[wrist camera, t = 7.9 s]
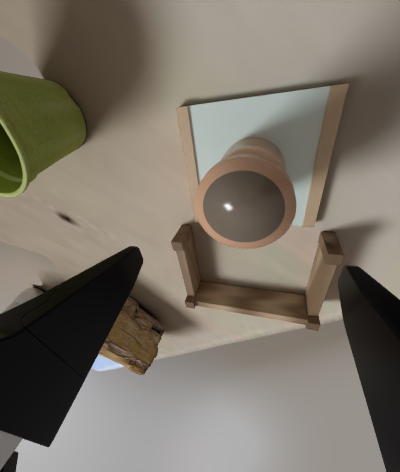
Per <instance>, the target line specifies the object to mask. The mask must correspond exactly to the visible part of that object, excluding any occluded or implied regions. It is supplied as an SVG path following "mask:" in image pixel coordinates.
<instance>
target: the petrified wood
mask: <svg viewBox="0 0 400 472" xmlns="http://www.w3.org/2000/svg"><path fill="white" fill-rule="evenodd" d="M163 333H164V330H163V329H162V327H161V325H160V324H159V322H158V321H157V320H156V319H155V318H153V317H152V316H150V315H149V314H147V313H146V312H145V311H143V310H142V309H141V308H139V306H138V303H137V302H136V301H135V300H134V299H132V298H131V297H128V298H127V300H126V302H125V304H124V306H123V308H122V310H121V312H120V314H119V316H118V318H117V319H116V321H115V323H114V325H113V327H112V329H111V331H110V333H109V335H108V337H107V338H106V340H105V342H104V344H103V346H102V348H101V350H100V352H99V354H101V355H103V356H105V357H107V358H109V359H111V360H113V361H114V362H117V363H119V364H122V365H123V366H125V367H127V368H128V369H129V370H131V371H132V372H135V373H137V374H139V375H141V374H145V372H146V370H147V369H148V367H150V365H151V363H152V362H153V360H154V358H155V357H156V356H157V353H158V347H157V346H158V343H159V342H160V340H161V336H162V335H163Z"/></svg>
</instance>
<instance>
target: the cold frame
mask: <svg viewBox="0 0 400 472" xmlns="http://www.w3.org/2000/svg"><path fill="white" fill-rule="evenodd" d="M192 234H193V233H192V227H191V225H182V226H181V227H180V229H179V230H178V232H177V233H176V235H175V237H174V238H173V240H172V241H171V243H172V247H173V250H175V251H176V252H177V256H178V260H179V263H180V267H181V271H182V275H183V279H184V283H185V287H186V291H187V294H188V295H187V297H186V300H185V304H186V307H189V308H195V306H202V307H207V308H213V309H219V310H224V311H230V312H236V313H242V314H247V315H253V316H259V317H264V318H270V319H276V320H282V321H287V322H293V323H299V324H304V325H306V329H311V330H316V331H318V330H319V327H320V321H319V316H318V315H319V312H320V309H321V307H322V304H323V301H324V299H325V296H326V293H327V291H328V288H329V285H330V282H331V280H332V277H333V274H334V272H335V269H336V266H337V265H339V266H340V265H341V263H342V260H343V257H344V254H343V251H342V249H341V246H340V244H339V241H338V239H337V237H336V234H335V232H321V234H320V237H319V241H318V242H319V245H318V249H317V252H316V256H315V260H314V263H313V267H312V271H311V274H310V278H309V282H308V285H307V289H306V292H305V294H304V295H298V294H291V293H283V292H276V291H269V290H261V289H254V288H246V287H239V286H232V285H224V284H217V283H210V282H202V281H201V280H200V274H199V269H198V264H197V258H196V253H195V248H194V242H193V237H192Z"/></svg>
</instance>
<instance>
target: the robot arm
mask: <svg viewBox="0 0 400 472" xmlns="http://www.w3.org/2000/svg"><path fill="white" fill-rule="evenodd" d="M142 264H143V257H142V255H141V252H140V250H139V248H138V247H135V246H130V247H128V248H126V249H124V250H122V251H120V252H118V253H117V254H115V255H113V256H111V257H109V258H107V259H105V260H104V261H102V262H100V263H98V264H96V265H94V266H93V267H91V268H89V269H87V270H85V271H83V272H81V273H80V274H78V275H76V276H74V277H72V278H70V279H68V280H67V281H65V282H63V283H61V284H60V285H57V286H55V287H54V288H52V289H50V290H48V291H46V292H44V293H42V294H40V295H39V296H37V297H35V298H32V299H30V300H28V301H26V302H24V303H22V304H20V305H18V306H16V307H14V308H12V309H10V310H8V311H6V312H4V313H1V314H0V472H16V465H17V459H18V452H16V451H14V450H15V449H16V447H17V446H18V445H19V443H20V442H21V440H22V439H26V440H29V441H32V442H34V443H37V444H40V445H43V446H46V447H49V446H50V445H51V443H52V441H53V440H54V438H55V436H56V434H57V432H58V430H59V428H60V426H61V424H62V423H63V421H64V419H65V417H66V415H67V413H68V411H69V409H70V407H71V405H72V403H73V401H74V400H75V398H76V396H77V394H78V392H79V390H80V388H81V386H82V384H83V382H84V381H85V378H86V377H87V375H88V372H89V371H90V369H91V367H92V365H93V363H94V361H95V359H96V358H97V356H98V354H99V352H100V350H101V348H102V346H103V344H104V342H105V340H106V338H107V337H108V335H109V333H110V331H111V329H112V327H113V325H114V323H115V321H116V319H117V318H118V316H119V314H120V312H121V310H122V308H123V306H124V304H125V302H126V300H127V298H128V297H129V295H130V293H131V291H132V289H133V286H134V284H135V281H136V279H137V276H138V274H139V272H140V269H141V267H142ZM338 289H339V295H340V302H341V308H342V315H343V321H344V324H345V329H346V332H347V336H348V339H349V343H350V347H351V350H352V353H353V357H354V360H355V364H356V367H357V371H358V374H359V378H360V381H361V385H362V388H363V392H364V395H365V398H366V402H367V406H368V409H369V413H370V416H371V420H372V423H373V426H374V430H375V433H376V437H377V440H378V444H379V447H380V451H381V454H382V457H383V461H384V465H385V468H386V472H400V300H399V299H398V298H397V297H396V296H395V295H393V294H392V293H391V292H390V291H388V290H387V289H386V288H385V287H383V286H382V285H381V284H380V283H378V282H377V281H376V280H375V279H374V278H372V277H371V276H370V275H369V274H367V273H366V272H365V271H364V270H362V269H361V268H360V267H358V266H351V265H346V266H344V267H343V270H342V272H341V275H340V277H339V280H338Z"/></svg>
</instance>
